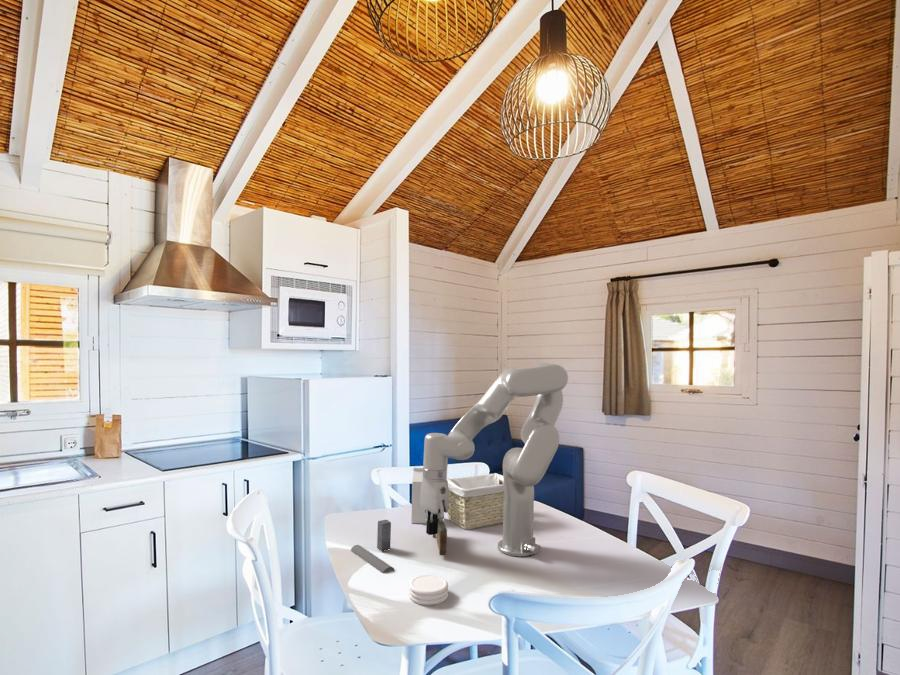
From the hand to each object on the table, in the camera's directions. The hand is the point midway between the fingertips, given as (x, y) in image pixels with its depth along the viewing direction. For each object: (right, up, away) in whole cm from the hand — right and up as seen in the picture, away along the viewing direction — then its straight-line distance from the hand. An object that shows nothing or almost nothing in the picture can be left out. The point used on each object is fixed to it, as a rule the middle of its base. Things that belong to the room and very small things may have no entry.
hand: (431, 533), depth 154 cm
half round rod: (-18, -6, -6) cm, 20 cm away
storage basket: (+17, -7, +30) cm, 36 cm away
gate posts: (-7, -6, +7) cm, 11 cm away
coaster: (0, -6, -27) cm, 28 cm away
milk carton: (-5, -7, +28) cm, 29 cm away
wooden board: (+3, -5, +3) cm, 6 cm away
